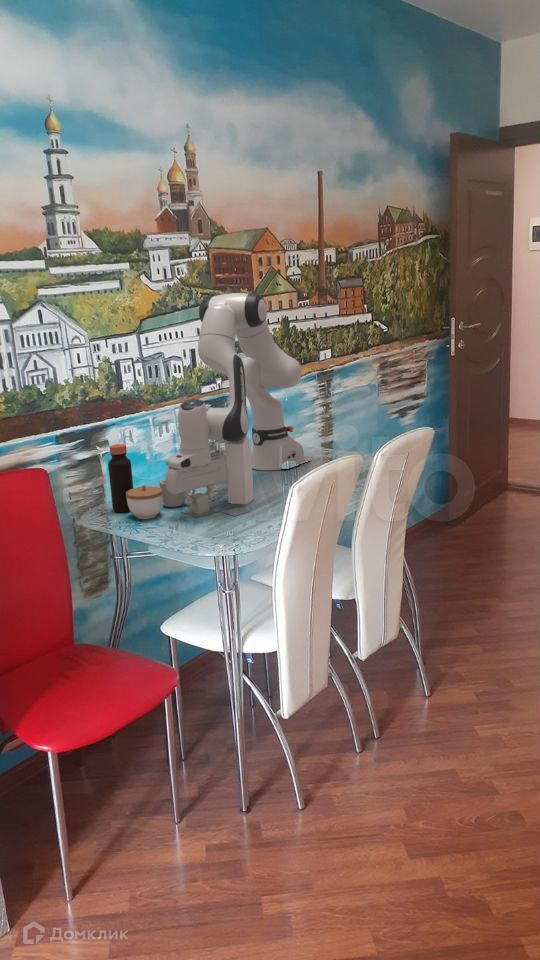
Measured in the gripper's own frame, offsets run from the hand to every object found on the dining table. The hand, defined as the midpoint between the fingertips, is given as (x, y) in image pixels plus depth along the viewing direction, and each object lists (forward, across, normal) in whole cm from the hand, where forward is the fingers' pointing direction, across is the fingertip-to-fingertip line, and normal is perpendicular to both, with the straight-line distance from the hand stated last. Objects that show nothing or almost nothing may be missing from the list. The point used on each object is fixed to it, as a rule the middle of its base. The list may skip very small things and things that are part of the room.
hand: (199, 501), depth 246 cm
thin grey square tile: (+3, 0, 0) cm, 3 cm away
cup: (+3, 0, -11) cm, 12 cm away
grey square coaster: (+3, -7, +8) cm, 11 cm away
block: (+3, 0, 0) cm, 3 cm away
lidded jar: (+3, +13, -9) cm, 16 cm away
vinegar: (+3, +14, -20) cm, 25 cm away
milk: (+3, -15, +1) cm, 15 cm away
